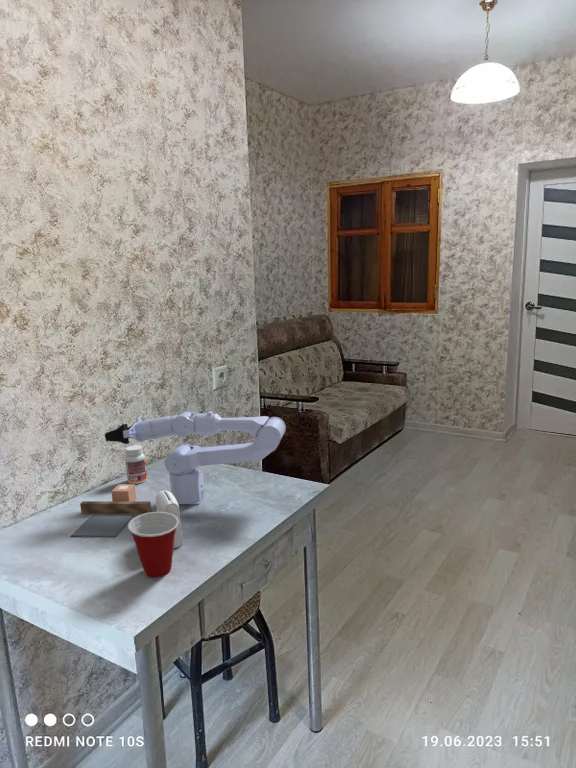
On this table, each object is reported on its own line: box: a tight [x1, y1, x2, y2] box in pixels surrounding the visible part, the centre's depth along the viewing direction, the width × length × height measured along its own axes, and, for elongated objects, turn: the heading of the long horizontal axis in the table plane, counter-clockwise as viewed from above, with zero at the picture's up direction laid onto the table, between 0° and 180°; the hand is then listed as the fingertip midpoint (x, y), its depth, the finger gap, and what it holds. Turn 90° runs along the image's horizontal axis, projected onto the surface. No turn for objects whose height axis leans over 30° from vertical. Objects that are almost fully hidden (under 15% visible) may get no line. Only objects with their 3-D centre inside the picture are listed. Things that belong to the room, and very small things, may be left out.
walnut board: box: [79, 500, 152, 515], centre depth 151 cm, size 20×2×3 cm, turn 83°
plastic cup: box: [127, 511, 179, 578], centre depth 119 cm, size 11×11×12 cm
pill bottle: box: [124, 444, 148, 485], centre depth 173 cm, size 6×6×11 cm
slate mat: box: [70, 514, 135, 538], centre depth 143 cm, size 12×12×1 cm
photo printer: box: [155, 489, 183, 549], centre depth 133 cm, size 10×4×12 cm, turn 26°
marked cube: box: [110, 483, 137, 501], centre depth 157 cm, size 5×5×5 cm
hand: (112, 435), depth 157 cm, fingers open, 7 cm apart
